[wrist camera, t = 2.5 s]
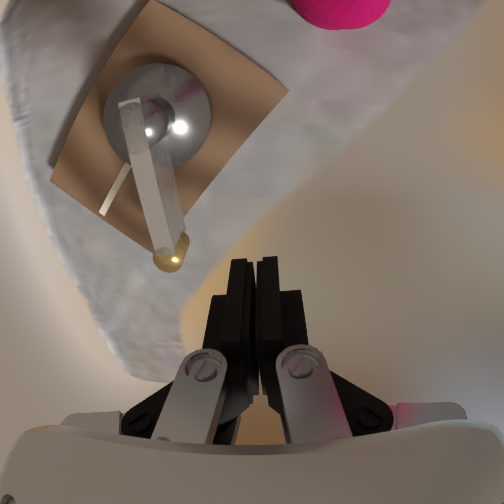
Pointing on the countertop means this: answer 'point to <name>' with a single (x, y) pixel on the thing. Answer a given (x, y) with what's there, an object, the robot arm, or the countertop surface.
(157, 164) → the dial
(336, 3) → the pepper mill
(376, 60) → the countertop surface
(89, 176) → the walnut board
